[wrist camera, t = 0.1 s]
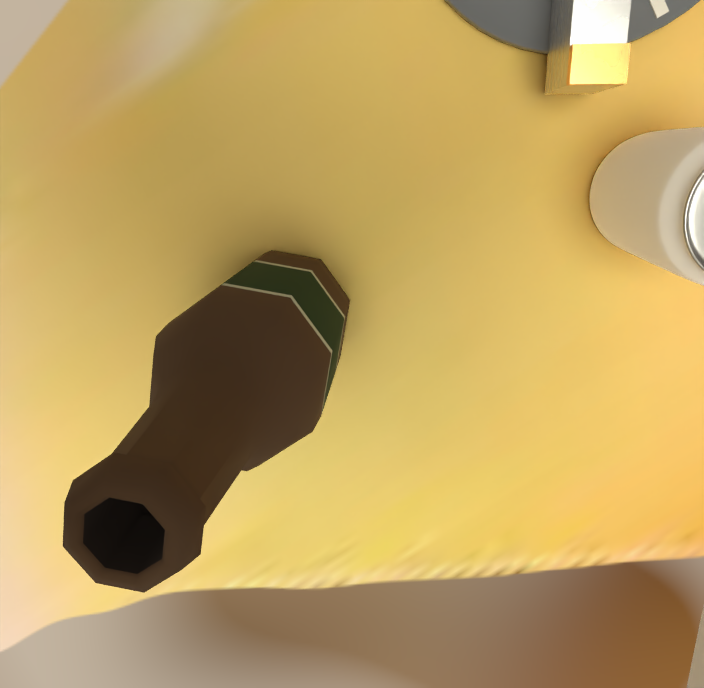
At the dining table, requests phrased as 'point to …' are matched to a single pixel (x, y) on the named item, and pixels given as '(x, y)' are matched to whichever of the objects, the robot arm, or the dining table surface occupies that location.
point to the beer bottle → (209, 417)
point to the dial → (587, 46)
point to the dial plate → (535, 15)
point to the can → (655, 199)
